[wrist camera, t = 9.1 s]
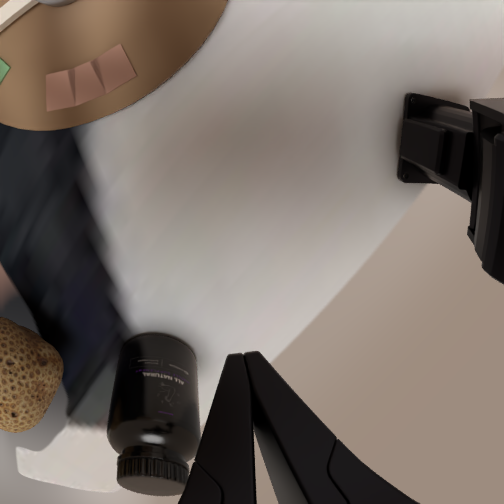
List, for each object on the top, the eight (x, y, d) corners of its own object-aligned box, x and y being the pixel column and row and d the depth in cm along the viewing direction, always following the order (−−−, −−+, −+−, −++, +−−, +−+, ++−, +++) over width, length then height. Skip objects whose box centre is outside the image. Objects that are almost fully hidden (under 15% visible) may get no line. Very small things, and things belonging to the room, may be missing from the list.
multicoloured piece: (91, -62, 8) (64, -95, 4) (108, -18, 10) (81, -47, 6) (-40, 36, 9) (-86, 36, 5) (-28, 81, 11) (-76, 89, 7)
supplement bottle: (181, 323, 24) (185, 467, 14) (206, 374, 27) (219, 496, 17) (105, 339, 24) (81, 470, 13) (138, 386, 27) (134, 501, 17)
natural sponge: (-29, 306, 20) (-74, 386, 11) (20, 271, 19) (-37, 367, 11) (30, 371, 24) (6, 452, 16) (87, 350, 24) (65, 449, 15)
